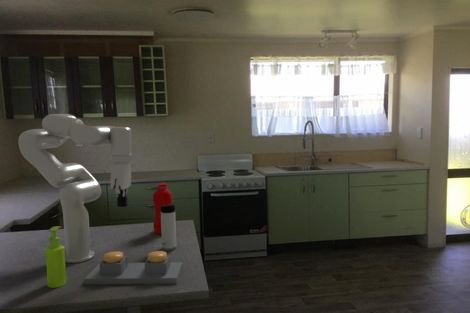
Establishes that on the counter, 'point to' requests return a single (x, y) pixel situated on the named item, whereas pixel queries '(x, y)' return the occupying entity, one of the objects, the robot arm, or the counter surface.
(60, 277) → the soap dispenser
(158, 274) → the console
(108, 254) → the knob
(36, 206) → the counter surface
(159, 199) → the water bottle
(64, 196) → the robot arm
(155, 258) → the knob
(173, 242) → the travel mug
